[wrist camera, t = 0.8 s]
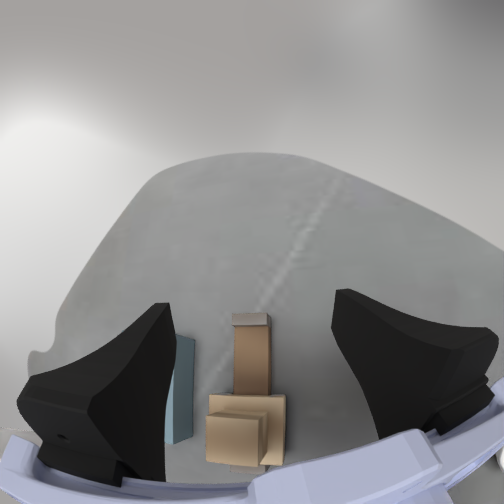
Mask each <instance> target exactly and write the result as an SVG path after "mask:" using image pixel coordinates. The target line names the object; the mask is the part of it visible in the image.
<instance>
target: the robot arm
mask: <svg viewBox="0 0 504 504" xmlns="http://www.w3.org/2000/svg"><path fill="white" fill-rule="evenodd" d="M331 329H332V332H333V335H334V337H335V340H336V342H337V345H338V347H339V348H340V350H341V352H342V354H343V355H344V357H345V359H346V361H347V362H348V364H349V366H350V367H351V369H352V371H353V373H354V374H355V376H356V378H357V380H358V381H359V383H360V385H361V387H362V390H363V392H364V395H365V397H366V400H367V402H368V405H369V408H370V411H371V413H372V416H373V419H374V422H375V426H376V429H377V433H378V436H379V440H378V441H375V442H372V443H369V444H366V445H363V446H360V447H357V448H354V449H350V450H347V451H343V452H340V453H336V454H332V455H328V456H324V457H319V458H315V459H310V460H305V461H300V462H296V463H292V464H289V465H285V466H281V467H276V468H273V469H271V470H269V471H267V472H265V473H262V474H260V475H258V476H256V477H255V478H254V479H253V481H252V482H245V483H228V484H185V483H169V482H166V475H165V447H164V446H165V417H166V406H167V399H168V394H169V389H170V385H171V380H172V375H173V370H174V366H175V361H176V349H177V339H176V334H175V330H174V325H173V320H172V315H171V310H170V304H169V303H155V304H154V305H152V306H151V307H150V308H149V309H148V310H147V311H146V312H145V313H144V314H143V315H141V316H140V317H139V318H138V319H137V320H136V321H135V322H134V323H133V324H131V325H130V326H129V327H128V328H127V329H125V330H124V331H123V332H122V333H120V334H119V335H118V336H117V337H116V338H114V339H113V340H111V341H110V342H109V343H107V344H106V345H104V346H103V347H101V348H99V349H98V350H96V351H95V352H93V353H91V354H89V355H87V356H85V357H83V358H81V359H79V360H77V361H75V362H73V363H71V364H68V365H66V366H63V367H60V368H58V369H55V370H52V371H48V372H45V373H41V374H37V375H33V376H31V377H30V378H29V380H28V382H27V383H26V385H25V387H24V388H23V390H22V392H21V394H20V395H19V397H18V399H17V406H18V409H19V412H20V414H21V415H22V417H23V418H24V420H25V421H26V422H27V423H28V424H29V426H30V427H31V428H32V429H33V430H34V432H35V433H36V434H37V435H38V436H39V437H40V438H41V439H42V441H43V442H42V445H41V447H39V446H38V445H36V444H35V443H33V442H31V441H28V440H26V439H24V438H21V437H19V436H17V435H14V434H12V435H11V437H10V440H9V442H8V444H7V446H6V449H5V451H4V453H3V456H2V458H1V461H0V489H1V490H3V491H4V492H5V493H7V494H8V495H10V496H11V497H12V498H14V499H15V500H17V501H18V502H20V503H21V504H454V503H453V501H452V499H451V498H450V496H449V494H448V492H447V490H449V489H450V488H452V487H453V486H455V485H456V484H457V483H459V482H460V481H462V480H463V479H464V478H466V477H467V476H468V475H470V474H471V473H472V472H473V471H475V470H476V469H477V468H478V467H480V466H481V465H482V464H483V463H484V462H486V461H487V460H488V459H489V458H490V457H491V456H493V455H494V454H495V453H496V452H497V451H498V450H499V449H500V448H502V447H503V446H504V376H503V377H502V378H501V379H499V380H498V381H497V382H495V383H494V384H493V385H492V386H491V387H490V388H489V387H488V386H487V385H486V384H487V382H488V378H487V377H486V376H485V373H486V371H487V369H488V368H489V366H490V364H491V362H492V360H493V358H494V356H495V354H496V351H497V348H498V344H499V338H498V336H497V335H496V334H495V333H494V332H492V331H491V330H490V329H488V328H486V327H460V326H452V325H445V324H440V323H436V322H431V321H427V320H423V319H420V318H417V317H414V316H411V315H408V314H405V313H403V312H400V311H398V310H395V309H393V308H391V307H388V306H386V305H384V304H382V303H380V302H378V301H376V300H373V299H371V298H369V297H367V296H365V295H363V294H361V293H359V292H356V291H354V290H351V289H340V290H336V295H335V303H334V311H333V318H332V325H331Z"/></svg>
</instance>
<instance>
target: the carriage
mask: <svg viewBox="0 0 504 504" xmlns="http://www.w3.org/2000/svg"><path fill="white" fill-rule="evenodd" d="M285 410H286V396H285V394H273V395H271V396H260V395H234V394H233V393H215V394H209V415H207V416H206V461H210V462H216V463H223V464H231V465H240V466H251V467H258V466H259V464H262V465H283V462H284V456H285Z"/></svg>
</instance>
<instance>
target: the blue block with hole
mask: <svg viewBox="0 0 504 504" xmlns="http://www.w3.org/2000/svg"><path fill="white" fill-rule="evenodd" d="M122 332H123V330H122ZM176 339H177V349H176V361H175V366H174V370H173V375H172V380H171V385H170V389H169V394H168V399H167V406H166V417H165V443H168V444H176V443H178V442H180V441H183V440H185V439H188V438H190V437H192V436H193V371H194V346H195V340H193V339H190V338H187V337H183V336H180V335H177V334H176Z"/></svg>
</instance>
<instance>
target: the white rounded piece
mask: <svg viewBox="0 0 504 504" xmlns="http://www.w3.org/2000/svg"><path fill="white" fill-rule="evenodd" d="M495 454H496V457H497V462H498V465H499V467H500V469H501V470H502V471H503V473H504V446H503V447H502V448H500V449H499V450H498V451H497V452H496V453H495Z"/></svg>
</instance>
